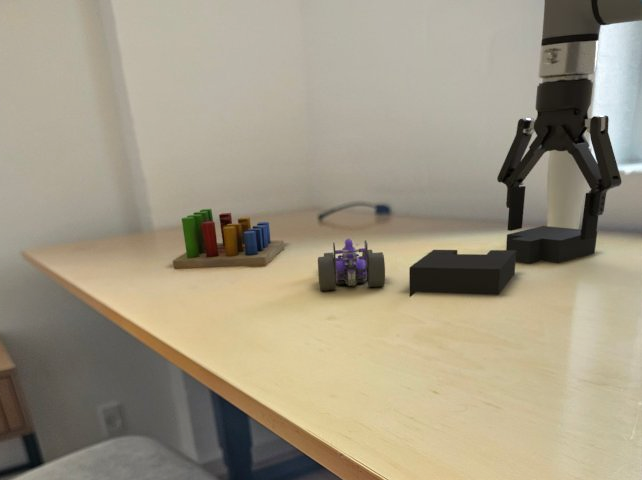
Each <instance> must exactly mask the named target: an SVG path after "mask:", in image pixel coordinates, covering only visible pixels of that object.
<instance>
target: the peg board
mask: <svg viewBox="0 0 642 480" xmlns="http://www.w3.org/2000/svg"><path fill="white" fill-rule="evenodd" d="M218 218H219V224H220V232H221V239H222V242H218V240H217V238H218V237H217V231H216V222H215V221H214V216H213V210H212V208H202V209H200V210H199V211H194V212H193V214H188V215H186V216H185V217H181V224H182V225H181V226H182V231H183V232H182V233H183V236H184V237H183V238H184V245H185V251H186V252H184V253H182V254H181V255H179V256H178V257H176V258H175V259H173V260H172V265H173V269H174V270H193V269H195V270H196V269H212V268H213V269H214V268H235V267H236V268H238V267H263V266H267V265H268V264H269V263H270V262H271V261H272V260H273V259H274V258H276V256H278V254H279V253H281V252H282V251H283V250H284V249H285V243H284V239H277V240H272V239H271V231H270V222H269V221H260V222H258V223H257V224H256V225H251V217H239V218H238V219H237V223H233V219H232V213H231V212H226V213H220V214H219V215H218ZM251 226H252V227H251Z"/></svg>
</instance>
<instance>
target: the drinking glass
mask: <svg viewBox="0 0 642 480" xmlns="http://www.w3.org/2000/svg"><path fill="white" fill-rule="evenodd" d="M589 149H590V151H591V152H592V149H593V146H592V145H591V146H590V145H589ZM547 162H548V163H547V173H546V175H547V178H546V180H547V181H546V183H547V184H546V190H547V191H546V192H547V193H546V201H547V203H546V226H549V227H559V228H570V229H580V222H581V217H582V213H583V208H584V203H585V196H586V193H587V192H586V191H587V186H588V183H587V181H586V179H585V178H584V176H583V174H582V172H581V170H580V169H579V167H578V165H577V163H576V161H575V160H574V158H573V156H572V155H571V154H569V153H568V151H556V150H553V151H549V154H548V160H547Z"/></svg>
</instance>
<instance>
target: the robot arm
mask: <svg viewBox="0 0 642 480" xmlns="http://www.w3.org/2000/svg"><path fill="white" fill-rule="evenodd" d="M543 8H544V9H543V20H542V21H543V22H542V36H541V44H540V53H539V65H538V78H539V79H541V80H542V81H541V82H540V83H538V85H536V87H537V88H536V94H535V95H536V97H535V110H536V112H537V115H536V119H535V118H534V117H526V118H525V117H524V118H520V119H518V121H517V126H516V132H515V136H514V138H513V141H512V143H511V144H510V148H509V149H508V152H507V154H506V157H505V158H504V162H503V163H502V166H501V168H500V170H499V173H498V175H497V178H496V181H497V182H498V183H502V184H504V185H505V186H506V201H505V203H506V204H505V206H506V208H507V209H508V218H507V229H506V230H507V231H511V232H512V231H516V230H522V229H523V222H524V208H525V198H526V197H525V195H526V186H525V185H524V181H525V180H526V178H527V177H528V175H529V174H530V173H531V171H532V170H533V169H534V167H536V165H537V164H538V162H540V159H541V158H542V157H543V155H544V154H545V153H547V152H550V151H553V150H556V151H568V153H569V154H571V155H572V156H573V158H574V160H575V161H576V163H577V165H578V167H579V169H580V170H581V172H582V174H583V176H584V178H585V179H586V181H587V186H588V187H589V188H590V190H588V192H585V197H584V203H583V211H582V220H581V228H580V230H581V236H580V239H581V240H586V239H590V238H594V237H596V231H597V229H598V223H599V216H602V215H603V214H604V213H605V212H604V211H605V204H606V198H607V193H608V192H609V190H611V189H614V188H618V187H620V186H621V185H622V178H621V174H620V170H619V167H618V163H617V159H616V156H615V152H614V149H613V146H612V145H613V144H612V141H611V138H610V135H609V122H610V120H609V116H608V115H607V114H602V115H594V116H592V117H590V118H589V113H588V112H589V109H590V106H591V104H592V97H593V88H594V81H593V79H592V78H591V79H590V76H591V75H593V74H595V72H596V66H597V55H598V47H599V37H600V31H601V26H609V25H614V24H623V23H632V22H641V21H642V0H544V6H543ZM586 131H587V133H589V137H590V142H591V147H592V150H593V153H594V155H593V153H592V150H591V151H590V149H589V146H590V143H589V142H588V140H587V138H586V137H585V135H584V134H585V133H586ZM534 133H535V135H536V137H535V138H534V139H533V140H532V142H531V139H532V136H533V134H534ZM530 142H531V143H530ZM529 144H530V145H529ZM527 148H529V149H528V151H527V152H526V150H527ZM525 152H526V154H525Z"/></svg>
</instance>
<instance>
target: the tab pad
mask: <svg viewBox="0 0 642 480" xmlns="http://www.w3.org/2000/svg"><path fill="white" fill-rule="evenodd" d="M580 236H581V228H579V229H570V228H559V227H549V226H547V225H542V226H537V227H532V228H529V229H524V230H519V231H516V232H511V233H507V234H506V243H505V244H506V245H505V250H516V261H515V263H518V264H519V263H520V264H526V265H530V264H533V263H537V262H546V263H555V264H562V263H565V262H568V261H571V260H575V259H579V258H582V257H586V256H589V255H593V254H595V253H596V247H597V237H598V231H597V230H596V237H594V238H590V239H586V240H581V239H580Z"/></svg>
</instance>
